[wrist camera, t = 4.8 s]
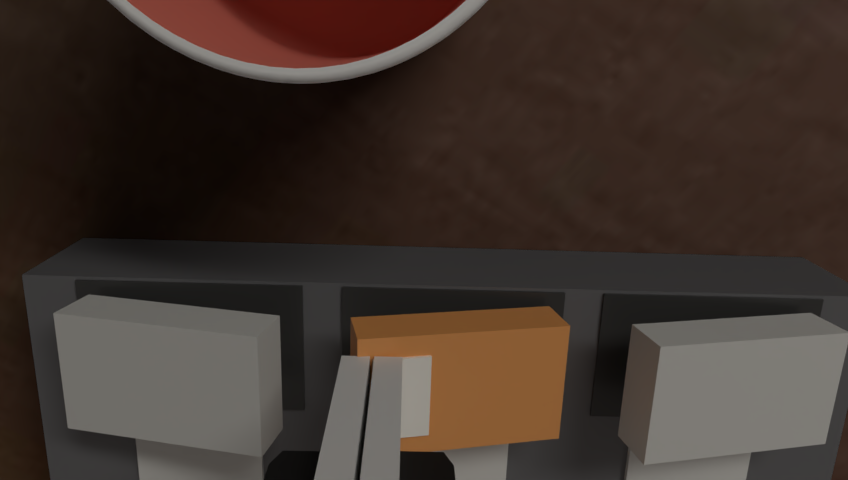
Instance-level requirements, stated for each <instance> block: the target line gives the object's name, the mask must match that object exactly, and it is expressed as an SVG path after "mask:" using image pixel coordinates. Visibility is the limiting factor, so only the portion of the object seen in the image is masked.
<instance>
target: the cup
mask: <svg viewBox="0 0 848 480" xmlns="http://www.w3.org/2000/svg"><path fill="white" fill-rule="evenodd" d="M107 1H108V2H109V3H111V4H112V5H113V6H114V7H115V8H116V9H117V10H119V11H120V12H121V13H122V14H123V15H124V16H125V17H126V18H128V19H129V20H130V21H131V22H133V23H134V24H135V25H137V26H138V27H139V28H141V29H142V30H144V31H145V32H146V33H148V34H149V35H150V36H152V37H153V38H155V39H156V40H158V41H160V42H161V43H163V44H165V45H166V46H168V47H170V48H171V49H173V50H175V51H177V52H179V53H181V54H183V55H185V56H187V57H189V58H191V59H193V60H195V61H198V62H200V63H203V64H205V65H208V66H210V67H213V68H215V69H218V70H221V71H225V72H228V73H231V74H235V75H238V76H242V77H247V78H252V79H257V80H262V81H269V82H278V83H293V84H309V83H327V82H334V81H341V80H348V79H352V78H356V77H360V76H364V75H368V74H372V73H376V72H379V71H381V70H384V69H387V68H390V67H392V66H395V65H398V64H400V63H402V62H404V61H406V60H408V59H411V58H413V57H415V56H417V55H419V54H420V53H422V52H424V51H426V50H427V49H429V48H431V47H432V46H434V45H435V44H437V43H439V42H440V41H442V40H443V39H445V38H446V37H447V36H449V35H450V34H451V33H453V32H454V31H455V30H456V29H458V28H459V27H460V26H462V25H463V24H464V23H465V22H466V21H467V20H468V19H469V18H471V17H472V16H473V15H474V14H475V13H476V12H477V11H478V10H479V9H480V8H481V7H482V6H483V5H484V4H485V3H486V2H487V1H488V0H107Z"/></svg>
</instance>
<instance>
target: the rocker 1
mask: <svg viewBox="0 0 848 480" xmlns="http://www.w3.org/2000/svg"><path fill="white" fill-rule="evenodd" d="M53 316H54V323H55V331H56V339H57V347H58V355H59V362H60V370H61V378H62V386H63V394H64V402H65V409H66V417H67V425H68V428H70V429H76V430H83V431H90V432H96V433H103V434H110V435H116V436H123V437H130V438H136V439H143V440H149V441H156V442H163V443H169V444H176V445H183V446H189V447H196V448H203V449H209V450H216V451H223V452H229V453H236V454H242V455H249V456H256V457H262V456H263V455H264V454H265V452H266V451H267V450H268V448H269V447H270V446H271V444H272V443H273V441H274V440H275V439H276V437H277V436H278V435H279V433H280V432H281V430H282V429H283V414H282V378H281V342H280V316H279V315H270V314H261V313H252V312H243V311H234V310H225V309H216V308H207V307H198V306H189V305H180V304H171V303H162V302H153V301H144V300H135V299H126V298H117V297H108V296H99V295H90V294H89V295H87V296H85V297H83V298H81V299H79V300H77V301H75V302H73V303H71V304H70V305H68V306H66V307H64V308H62V309H60V310H58V311H56V312H54V313H53Z"/></svg>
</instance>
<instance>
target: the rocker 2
mask: <svg viewBox="0 0 848 480" xmlns="http://www.w3.org/2000/svg"><path fill="white" fill-rule="evenodd" d="M569 333H570V325H569V324H568V323H567V322H566V321H564V320H563V319H562V318H561V317H560V316H559V315H558V314H557V313H556V312H555V311H554V310H553V309H552V308H551V307H550V306H543V307H525V308H507V309H489V310H472V311H454V312H436V313H419V314H401V315H383V316H366V317H351V323H350V356H357V357H363V356H370V389H371V380H372V371H373V363H374V356H383V357H403V362H402V400H401V438H400V451H419V452H432V451H441V450H451V449H461V448H471V447H480V446H490V445H500V444H509V443H519V442H529V441H539V440H548V439H558V438H559V432H560V422H561V412H562V402H563V393H564V383H565V373H566V363H567V353H568V343H569Z"/></svg>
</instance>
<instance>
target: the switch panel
mask: <svg viewBox="0 0 848 480" xmlns="http://www.w3.org/2000/svg"><path fill="white" fill-rule="evenodd" d="M22 279H23V286H24V293H25V301H26V308H27V315H28V322H29V329H30V336H31V344H32V351H33V358H34V365H35V372H36V379H37V387H38V394H39V401H40V408H41V415H42V422H43V430H44V437H45V444H46V451H47V458H48V465H49V473H50V480H264V477H265V474H266V471H267V468H268V465H269V463H270V462H271V461H272V460H273V459H274V458H276V457H277V456H278V455H279V454H280V453H281V452H282V451H320V450H321V446H322V441H323V437H324V432H325V428H326V423H327V419H328V414H329V410H330V405H331V401H332V396H333V392H334V387H335V383H336V378H337V374H338V369H339V365H340V360H341V356H350V323H351V317H366V316H383V315H401V314H419V313H436V312H454V311H472V310H489V309H507V308H525V307H543V306H550V307H551V308H552V309H553V310H554V311H555V312H556V313H557V314H558V315H559V316H560V317H561V318H562V319H563V320H564V321H566V322H567V323H568V324H569V325H570V333H569V343H568V353H567V363H566V373H565V383H564V393H563V402H562V412H561V422H560V432H559V438H558V439H548V440H539V441H529V442H519V443H509V444H500V445H490V446H480V447H471V448H461V449H451V450H441V451H432V452H444V453H445V454H446V456H447V457H448V458H449V460H450V461H451V462H452V464H453V465H454V471H455V480H831V477H832V473H833V468H834V464H835V460H836V455H837V451H838V447H839V443H840V438H841V434H842V430H843V425H844V421H845V417H846V413H847V408H848V346H847V350H846V354H845V359H844V363H843V368H842V372H841V377H840V381H839V385H838V390H837V394H836V399H835V403H834V407H833V412H832V416H831V421H830V425H829V429H828V434H827V438H826V443H825V444H820V445H811V446H802V447H794V448H785V449H777V450H768V451H759V452H751V453H742V454H734V455H725V456H717V457H708V458H699V459H691V460H682V461H674V462H665V463H656V464H648V465H644V464H643V463H642V462H641V461H640V460H639V459H638V458H637V457H636V455H635V454H634V453H633V452H632V451H631V450H630V449H629V448H628V446H627V445H626V444H625V443H624V442H623V441H622V440H621V439H620V437H619V436H618V430H619V422H620V414H621V406H622V399H623V391H624V383H625V375H626V368H627V360H628V352H629V344H630V336H631V329H632V324H646V323H661V322H676V321H692V320H707V319H722V318H738V317H753V316H768V315H784V314H799V313H812V314H814V315H816V316H818V317H820V318H822V319H824V320H826V321H828V322H830V323H832V324H834V325H836V326H838V327H840V328H842V329H844V330H846V331H848V283H847V282H846V281H844V280H842V279H840V278H839V277H837V276H835V275H833V274H831V273H830V272H828V271H826V270H824V269H822V268H821V267H819V266H817V265H815V264H814V263H812V262H810V261H808V260H806V259H805V258H803V257H767V256H731V255H694V254H658V253H621V252H585V251H548V250H512V249H475V248H439V247H402V246H366V245H329V244H293V243H256V242H220V241H183V240H147V239H110V238H82V239H81V240H79V241H77V242H76V243H74V244H72V245H71V246H69V247H67V248H66V249H64V250H62V251H61V252H59V253H57V254H56V255H54V256H52V257H51V258H49V259H47V260H46V261H44V262H42V263H41V264H39V265H37V266H36V267H34V268H33V269H31V270H29V271H28V272H26V273H24V274H23V275H22ZM89 294H90V295H99V296H108V297H117V298H126V299H135V300H144V301H153V302H162V303H171V304H180V305H189V306H198V307H207V308H216V309H225V310H234V311H243V312H252V313H261V314H270V315H279V316H280V342H281V378H282V414H283V429H282V430H281V432H280V433H279V435H278V436H277V437H276V439H275V440H274V441H273V443H272V444H271V446H270V447H269V448H268V450H267V451H266V452H265V454H264V455H263V456H262V457H256V456H249V455H242V454H236V453H229V452H223V451H216V450H209V449H203V448H196V447H189V446H183V445H176V444H169V443H163V442H156V441H149V440H143V439H136V438H130V437H123V436H116V435H110V434H103V433H96V432H90V431H83V430H76V429H70V428H68V425H67V417H66V409H65V402H64V394H63V386H62V378H61V370H60V362H59V355H58V347H57V339H56V331H55V323H54V316H53V313H54V312H56V311H58V310H60V309H62V308H64V307H66V306H68V305H70V304H71V303H73V302H75V301H77V300H79V299H81V298H83V297H85V296H87V295H89Z"/></svg>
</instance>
